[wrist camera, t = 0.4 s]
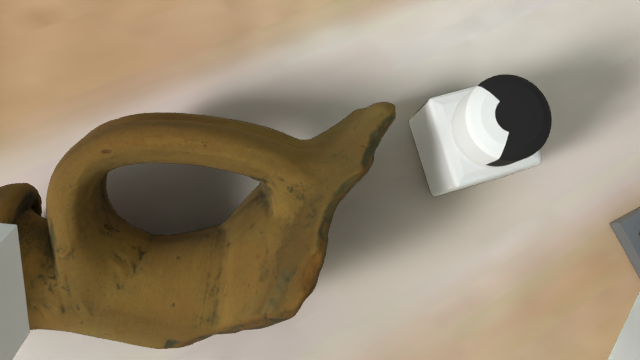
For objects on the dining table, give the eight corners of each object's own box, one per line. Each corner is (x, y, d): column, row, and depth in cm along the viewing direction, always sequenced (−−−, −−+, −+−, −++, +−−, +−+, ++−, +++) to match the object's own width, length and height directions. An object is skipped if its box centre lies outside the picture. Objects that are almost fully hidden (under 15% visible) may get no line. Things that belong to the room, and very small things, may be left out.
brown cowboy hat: (363, 467, 37) (-115, 442, 31) (319, 345, 52) (-4, 313, 46) (448, 117, 33) (-82, 10, 27) (372, 98, 48) (27, 28, 42)
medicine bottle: (482, 99, 50) (545, 51, 38) (507, 175, 49) (579, 151, 38) (406, 119, 49) (447, 78, 38) (431, 197, 49) (480, 180, 37)
